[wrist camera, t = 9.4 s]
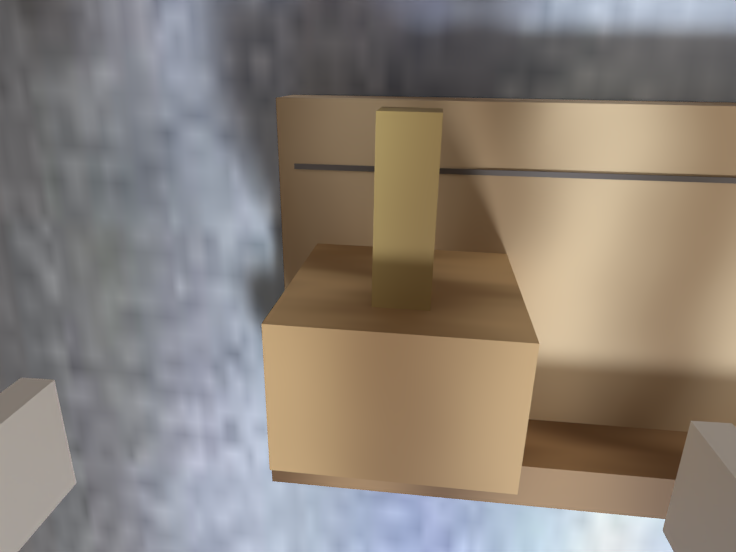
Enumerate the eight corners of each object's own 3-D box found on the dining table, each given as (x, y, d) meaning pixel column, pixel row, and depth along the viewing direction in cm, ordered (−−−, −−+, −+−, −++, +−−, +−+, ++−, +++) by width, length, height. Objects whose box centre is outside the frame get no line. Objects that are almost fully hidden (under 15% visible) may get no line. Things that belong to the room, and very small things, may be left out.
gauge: (319, 352, 19) (270, 469, 14) (315, 97, 16) (249, 112, 11) (493, 366, 18) (517, 494, 13) (523, 102, 15) (571, 121, 10)
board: (303, 403, 22) (272, 481, 18) (292, 94, 18) (248, 102, 14) (955, 456, 20) (1093, 560, 16) (1122, 109, 15) (1375, 124, 11)
